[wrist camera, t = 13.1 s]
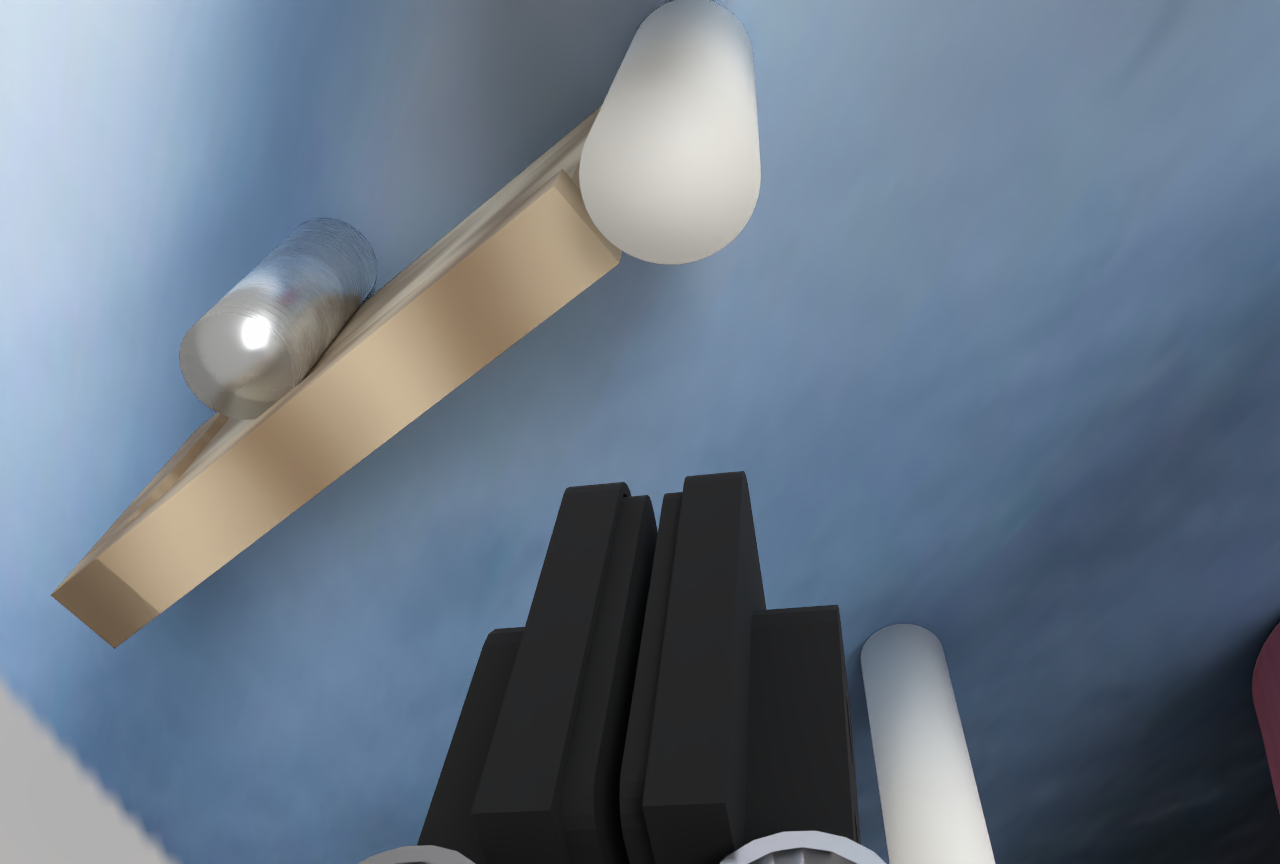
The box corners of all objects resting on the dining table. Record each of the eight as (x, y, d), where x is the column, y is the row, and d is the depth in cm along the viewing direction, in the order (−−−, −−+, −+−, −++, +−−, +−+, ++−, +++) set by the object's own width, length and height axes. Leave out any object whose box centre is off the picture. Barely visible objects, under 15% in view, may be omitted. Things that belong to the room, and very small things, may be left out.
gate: (599, 93, 33) (553, 186, 25) (648, 153, 34) (619, 263, 26) (194, 431, 40) (50, 595, 31) (242, 476, 40) (114, 648, 32)
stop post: (350, 205, 37) (257, 299, 30) (393, 290, 38) (313, 400, 31) (267, 236, 37) (157, 335, 30) (312, 319, 39) (217, 433, 31)
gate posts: (729, -22, 33) (725, 57, 22) (960, 675, 43) (1032, 955, 33) (609, 25, 34) (550, 124, 23) (865, 698, 44) (905, 978, 34)
